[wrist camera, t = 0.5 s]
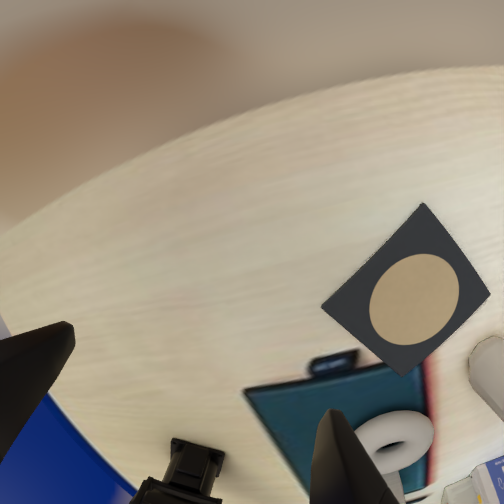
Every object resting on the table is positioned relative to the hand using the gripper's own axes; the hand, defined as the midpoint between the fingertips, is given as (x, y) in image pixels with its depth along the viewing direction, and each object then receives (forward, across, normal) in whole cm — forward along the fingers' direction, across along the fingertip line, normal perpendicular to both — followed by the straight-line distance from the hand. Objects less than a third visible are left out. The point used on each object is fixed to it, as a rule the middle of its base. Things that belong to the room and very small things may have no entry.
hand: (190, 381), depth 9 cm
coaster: (+14, -14, +1) cm, 20 cm away
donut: (+14, -19, +17) cm, 29 cm away
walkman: (+14, -46, +24) cm, 54 cm away
